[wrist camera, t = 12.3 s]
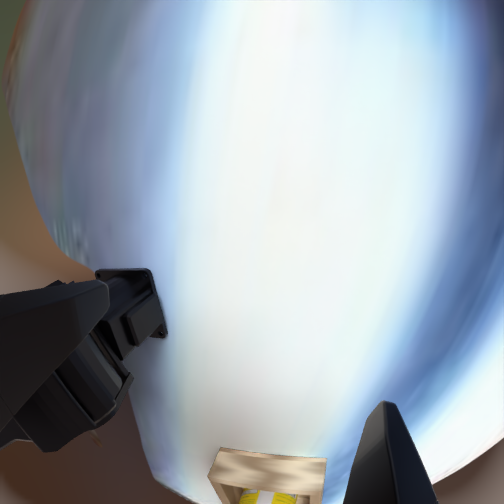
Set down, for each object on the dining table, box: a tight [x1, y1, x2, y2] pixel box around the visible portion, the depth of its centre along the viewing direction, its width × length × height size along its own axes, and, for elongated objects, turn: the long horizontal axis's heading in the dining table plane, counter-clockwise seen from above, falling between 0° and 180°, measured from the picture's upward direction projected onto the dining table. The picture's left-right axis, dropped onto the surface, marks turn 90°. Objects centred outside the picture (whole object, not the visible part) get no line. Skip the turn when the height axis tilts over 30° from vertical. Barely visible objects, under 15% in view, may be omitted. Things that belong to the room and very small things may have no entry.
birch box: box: [207, 448, 327, 504], centre depth 28 cm, size 12×12×5 cm
